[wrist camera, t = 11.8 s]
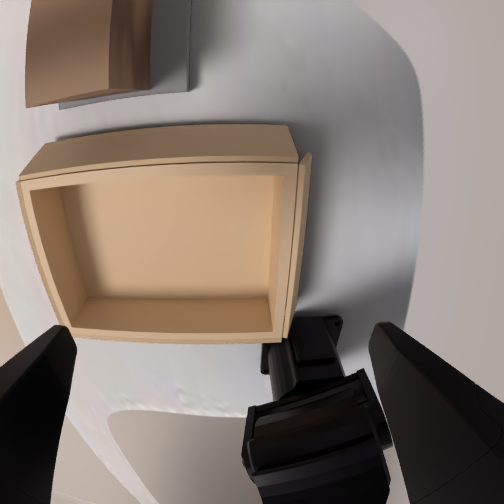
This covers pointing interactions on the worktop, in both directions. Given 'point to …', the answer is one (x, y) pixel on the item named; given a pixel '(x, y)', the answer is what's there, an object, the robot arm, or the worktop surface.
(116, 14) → the block
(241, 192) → the carton
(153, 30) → the mat
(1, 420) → the robot arm
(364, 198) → the worktop surface
